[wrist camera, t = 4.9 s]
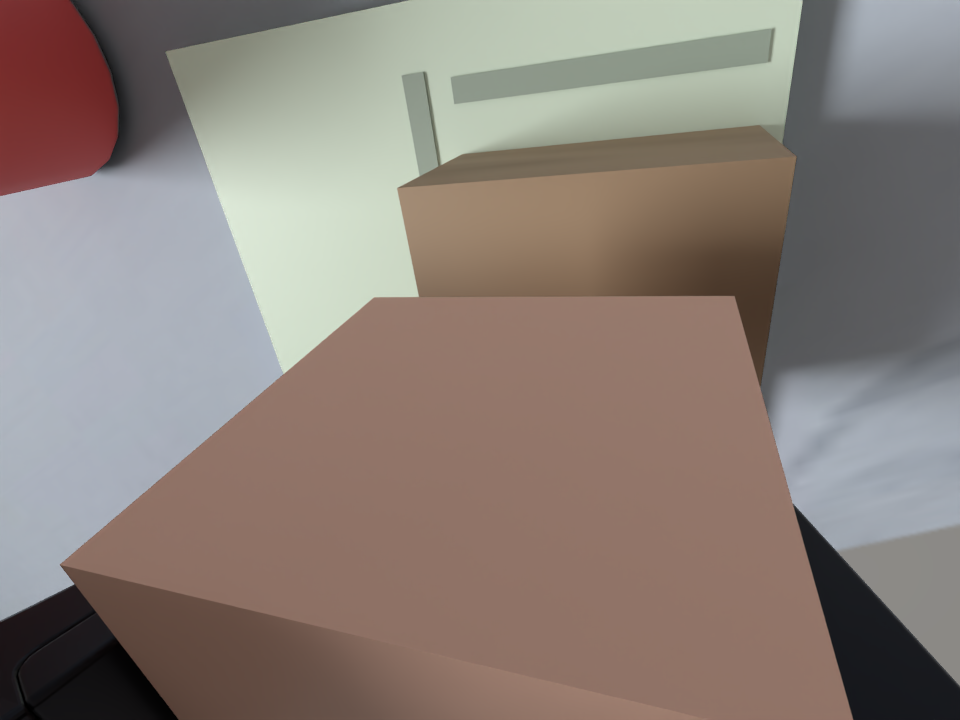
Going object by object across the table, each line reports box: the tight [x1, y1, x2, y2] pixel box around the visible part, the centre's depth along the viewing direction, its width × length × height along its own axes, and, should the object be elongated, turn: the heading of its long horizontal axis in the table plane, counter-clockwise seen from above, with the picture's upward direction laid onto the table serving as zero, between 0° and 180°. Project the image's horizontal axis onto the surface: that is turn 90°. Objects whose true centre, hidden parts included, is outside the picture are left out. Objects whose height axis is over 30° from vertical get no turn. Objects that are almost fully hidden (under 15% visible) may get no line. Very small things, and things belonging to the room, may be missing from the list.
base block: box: [397, 125, 797, 386], centre depth 12 cm, size 7×7×4 cm
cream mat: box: [165, 0, 803, 374], centre depth 15 cm, size 13×16×1 cm
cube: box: [60, 296, 853, 720], centre depth 6 cm, size 5×5×5 cm
